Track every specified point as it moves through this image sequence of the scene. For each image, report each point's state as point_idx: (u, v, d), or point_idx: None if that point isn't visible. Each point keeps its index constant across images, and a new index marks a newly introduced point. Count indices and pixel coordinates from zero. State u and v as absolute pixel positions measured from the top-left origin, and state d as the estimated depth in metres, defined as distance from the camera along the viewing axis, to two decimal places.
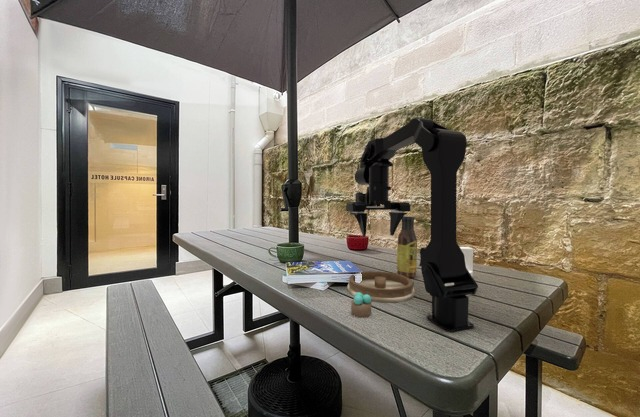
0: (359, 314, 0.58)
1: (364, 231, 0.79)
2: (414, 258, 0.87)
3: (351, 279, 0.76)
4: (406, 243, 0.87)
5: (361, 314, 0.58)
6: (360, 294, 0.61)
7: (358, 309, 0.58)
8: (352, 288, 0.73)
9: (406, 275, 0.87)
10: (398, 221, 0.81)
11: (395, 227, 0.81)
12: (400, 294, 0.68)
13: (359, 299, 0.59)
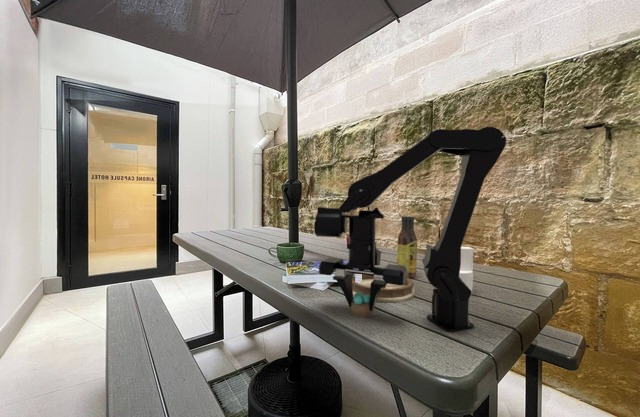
0: (359, 314, 0.58)
1: (347, 300, 0.61)
2: (414, 258, 0.87)
3: None
4: (406, 243, 0.87)
5: (361, 314, 0.58)
6: (360, 294, 0.61)
7: (358, 308, 0.58)
8: None
9: None
10: (373, 294, 0.57)
11: (371, 301, 0.58)
12: (400, 294, 0.68)
13: (359, 299, 0.59)
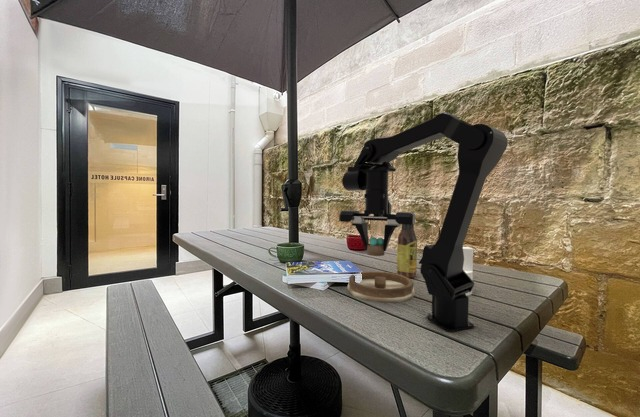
0: (374, 253, 0.69)
1: (364, 243, 0.71)
2: (414, 258, 0.87)
3: (351, 279, 0.76)
4: (406, 243, 0.87)
5: (376, 253, 0.69)
6: (375, 238, 0.71)
7: (374, 248, 0.69)
8: (352, 288, 0.73)
9: (406, 275, 0.87)
10: (386, 235, 0.67)
11: (385, 242, 0.68)
12: (400, 294, 0.68)
13: (374, 241, 0.69)
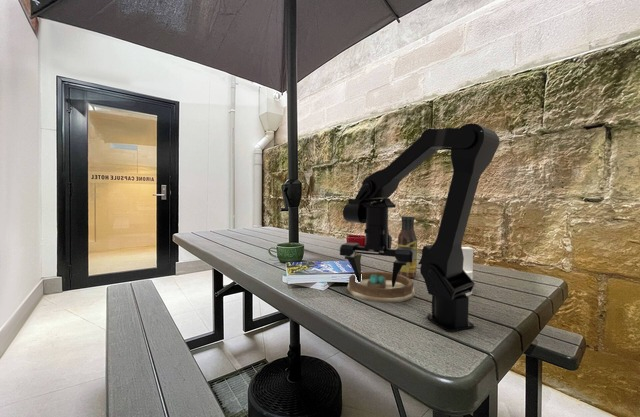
0: None
1: (357, 276, 0.73)
2: None
3: (351, 279, 0.76)
4: (406, 243, 0.87)
5: None
6: (375, 275, 0.72)
7: (374, 287, 0.69)
8: (352, 288, 0.73)
9: (406, 275, 0.87)
10: (395, 272, 0.67)
11: (393, 278, 0.68)
12: (400, 294, 0.68)
13: (374, 279, 0.70)
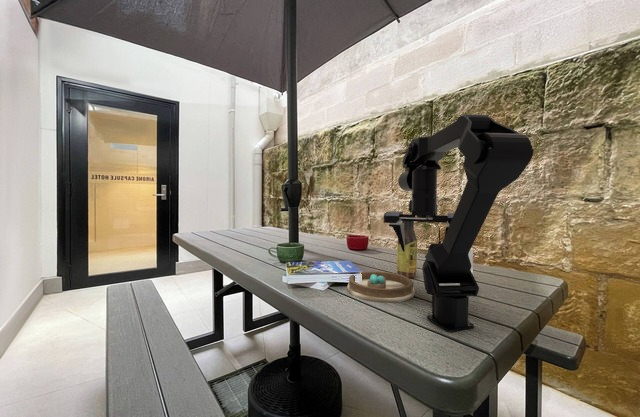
0: None
1: (401, 245, 0.69)
2: (414, 258, 0.87)
3: (351, 279, 0.76)
4: (406, 243, 0.87)
5: None
6: (375, 275, 0.72)
7: (374, 287, 0.69)
8: (352, 288, 0.73)
9: (406, 275, 0.87)
10: None
11: None
12: (400, 294, 0.68)
13: (374, 279, 0.70)
